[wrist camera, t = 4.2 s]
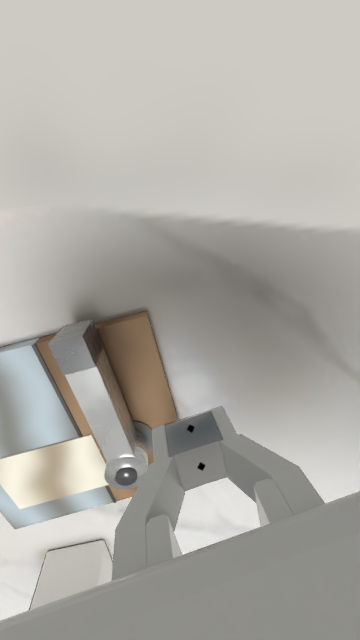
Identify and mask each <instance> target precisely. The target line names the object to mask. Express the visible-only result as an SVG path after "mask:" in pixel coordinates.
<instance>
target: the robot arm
mask: <svg viewBox="0 0 360 640" xmlns="http://www.w3.org/2000/svg"><path fill="white" fill-rule="evenodd" d="M152 440H153V453H154V463H151V464H150V465H149V467H148V469H147V471H146V473H145V475H144V477H143V479H142V480H141V482H140V484H139V486H138V488H137V490H136V492H135V494H134V495H133V497H132V499H131V501H130V503H129V505H128V507H127V509H126V510H125V512H124V514H123V516H122V518H121V520H120V522H119V524H118V525H117V527H116V530H115V543H114V555H113V568H112V580H111V581H109V582H106V583H104V584H101V585H98V586H95V587H92V588H90V589H87V590H84V591H81V592H79V593H76V594H73V595H70V596H67V597H65V598H62V599H59V600H56V601H54V602H51V603H48V604H45V605H42V606H40V607H37V608H34V609H31V610H29V611H26V612H23V613H20V614H17V615H15V616H12V617H9V618H6V619H4V620H1V621H0V640H360V491H359V492H356V493H353V494H351V495H348V496H345V497H342V498H339V499H337V500H334V501H331V502H328V503H326V504H325V503H324V501H323V500H322V498H321V497H320V496H319V494H318V493H317V491H316V490H315V488H314V487H313V486H312V484H311V483H310V481H309V480H308V479H307V477H306V476H305V474H304V473H303V472H302V470H301V469H300V467H299V466H297V465H295V464H293V463H292V462H290V461H288V460H286V459H284V458H283V457H281V456H279V455H277V454H276V453H274V452H272V451H270V450H268V449H267V448H265V447H263V446H261V445H259V444H258V443H256V442H254V441H252V440H251V439H249V438H247V437H245V436H243V435H242V434H240V435H237V433H236V431H235V429H234V427H233V425H232V423H231V421H230V420H229V418H228V416H227V414H226V412H225V410H224V408H223V407H222V406H220V407H217V408H214V409H211V410H208V411H205V412H202V413H199V414H196V415H193V416H190V417H187V418H183V419H180V420H176V421H173V422H169V423H166V424H163V425H160V426H156V427H153V428H152ZM226 477H228V479H230V480H231V481H232V482H233V483H234V484H235V485H236V486H237V487H239V488H240V489H241V490H242V491H243V492H244V493H245V494H246V495H248V496H249V497H250V498H251V499H252V500H253V501H254V502H255V503H257V508H258V514H259V520H260V526H261V527H259V528H256V529H254V530H251V531H248V532H245V533H243V534H240V535H237V536H234V537H231V538H229V539H226V540H223V541H220V542H218V543H215V544H212V545H209V546H206V547H204V548H201V549H198V550H195V551H193V552H190V553H187V554H184V555H182V552H181V550H180V547H179V544H178V542H177V539H176V537H175V534H174V530H175V527H176V523H177V520H178V516H179V513H180V509H181V506H182V502H183V499H184V495H185V491H187V490H190V489H193V488H195V487H198V486H201V485H204V484H206V483H210V482H213V481H216V480H219V479H223V478H226Z"/></svg>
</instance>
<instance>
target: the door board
mask: <svg viewBox="0 0 360 640" xmlns="http://www.w3.org/2000/svg"><path fill="white" fill-rule="evenodd" d="M95 327H96V330H97V332H98V335H99V337H100V340H101V342H102V345H103V347H104V350H105V353H106V355H107V358H108V360H109V363H110V365H111V368H112V371H113V373H114V376H115V378H116V381H117V383H118V386H119V388H120V391H121V394H122V396H123V399H124V401H125V404H126V406H127V409H128V411H129V414H130V417H131V419H132V422H133V424H134V427H135V429H136V431H138V432H141V433H142V434H144V435H145V436H146V438H147V440H148V467H149V465H150V464H151V463H154V453H153V440H152V428H153V427H156V426H160V425H163V424H166V423H169V422H173V421H176V420H178V417H177V414H176V410H175V407H174V403H173V400H172V396H171V393H170V389H169V386H168V383H167V379H166V376H165V372H164V369H163V365H162V362H161V358H160V355H159V352H158V348H157V345H156V341H155V338H154V334H153V331H152V327H151V324H150V320H149V317H148V314H147V311H145V312H140V313H136V314H132V315H128V316H124V317H120V318H116V319H112V320H108V321H104V322H100V323H96V324H95ZM56 334H57V333H56ZM56 334H52V335H48V336H44V337H40V338H36V339H32V340H28V341H24V342H20V343H16V344H12V345H8V346H4V347H0V512H1V513H2V515H3V516H4V517H5V518H6V519H7V521H8V522H9V523H10V524H11V525H12V526H13V528H14V529H18V528H22V527H26V526H29V525H33V524H36V523H40V522H44V521H47V520H51V519H54V518H58V517H61V516H65V515H69V514H72V513H76V512H79V511H83V510H87V509H90V508H94V507H97V506H101V505H105V504H108V503H112V502H113V503H115V502H116V501H119V500H123V499H126V498H130V497H133V495H134V494H135V492H136V490H137V488H138V486H137V487H135V488H132V489H117V488H114V487H112V486H110V485H109V484H108V483H107V482H106V481H105V478H104V474H105V468H106V462H107V461H106V459H105V457H104V455H103V452H102V450H101V448H100V446H99V444H98V442H97V440H96V438H95V436H94V434H93V432H92V430H91V428H90V426H89V424H88V422H87V420H86V418H85V416H84V414H83V412H82V409H81V407H80V405H79V403H78V401H77V399H76V397H75V395H74V393H73V391H72V389H71V387H70V385H69V383H68V381H67V379H66V377H65V375H63V374H62V372H61V370H60V368H59V366H58V364H57V362H56V360H55V358H54V356H53V354H52V352H51V350H50V348H49V346H48V344H49V343H50V341H51V340H52V339H53V338H54V337H55V335H56Z"/></svg>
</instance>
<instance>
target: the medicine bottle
mask: <svg viewBox="0 0 360 640" xmlns="http://www.w3.org/2000/svg"><path fill="white" fill-rule="evenodd" d="M112 568H113V563H112V560H111V557H110V555H109V552H108V549H107V547H106V544H105V541H104V540H99V541H94V542H89V543H85V544H80V545H75V546H70V547H66V548H61V549H56V550H51V551H48V552H47V553H46V556H45V559H44V562H43V565H42V569H41V572H40V575H39V578H38V582H37V585H36V588H35V592H34V595H33V598H32V601H31V605H30V608H29V610H31V609H34V608H37V607H40V606H42V605H45V604H48V603H51V602H54V601H56V600H59V599H62V598H65V597H67V596H70V595H73V594H76V593H79V592H81V591H84V590H87V589H90V588H92V587H95V586H98V585H101V584H104V583H106V582H109V581H111V580H112Z"/></svg>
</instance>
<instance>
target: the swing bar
mask: <svg viewBox="0 0 360 640" xmlns="http://www.w3.org/2000/svg"><path fill="white" fill-rule="evenodd" d="M48 346H49V348H50V350H51V352H52V354H53V356H54V358H55V360H56V362H57V364H58V366H59V368H60V370H61V372H62V374H63V375H65V377H66V379H67V381H68V383H69V385H70V387H71V389H72V391H73V393H74V395H75V397H76V399H77V401H78V403H79V405H80V407H81V409H82V412H83V414H84V416H85V418H86V420H87V422H88V424H89V426H90V428H91V430H92V432H93V434H94V436H95V438H96V440H97V442H98V444H99V446H100V448H101V450H102V452H103V455H104V457H105V459H106V461H107V462H106V468H105V474H104V478H105V481H106V482H107V483H108V484H109V485H110V486H112V487H114V488H117V489H132V488H135V487H137V486H139V484H140V482H141V480H142V479H143V477H144V475H145V473H146V471H147V469H148V440H147V438H146V436H145V435H144V434H142V433H141V432H138V431H136V429H135V427H134V424H133V422H132V419H131V417H130V414H129V411H128V409H127V406H126V404H125V401H124V399H123V396H122V394H121V391H120V388H119V386H118V383H117V381H116V378H115V376H114V373H113V371H112V368H111V365H110V363H109V360H108V358H107V355H106V353H105V350H104V347H103V345H102V342H101V340H100V337H99V335H98V332H97V330H96V327H95V324H94V322H93V319H90V320H86V321H82V322H78V323H74V324H70V325H66V326H63V327H62V328H61V329H60V331H59V332H58V333H57V334H56V335H55V337H54V338H53V339H52V340H51V341H50V343H49V344H48Z"/></svg>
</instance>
